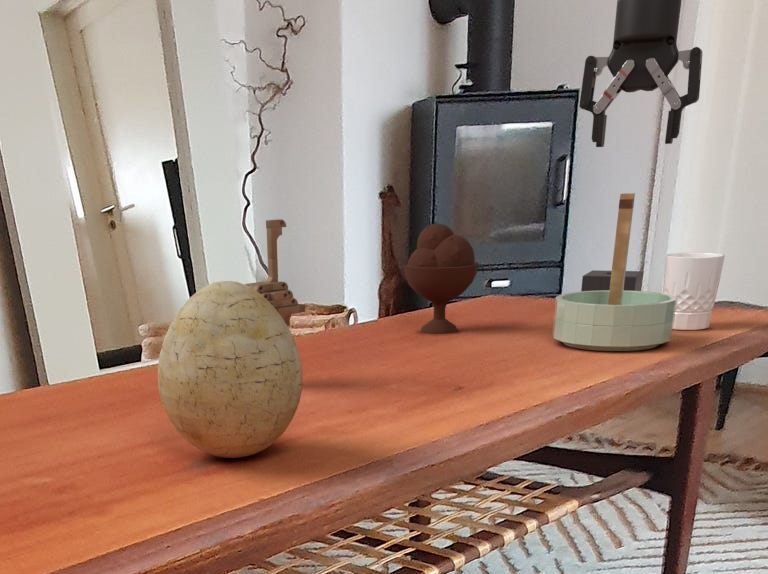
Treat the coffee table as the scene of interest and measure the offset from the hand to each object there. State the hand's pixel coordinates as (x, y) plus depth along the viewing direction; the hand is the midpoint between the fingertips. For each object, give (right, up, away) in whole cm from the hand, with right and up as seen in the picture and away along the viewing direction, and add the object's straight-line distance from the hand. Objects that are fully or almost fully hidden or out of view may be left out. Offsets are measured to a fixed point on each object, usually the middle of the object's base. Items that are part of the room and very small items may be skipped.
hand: (633, 145), depth 125 cm
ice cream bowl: (-22, -17, +22) cm, 35 cm away
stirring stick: (0, -22, +8) cm, 24 cm away
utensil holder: (+8, -10, +34) cm, 36 cm away
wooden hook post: (-51, -35, -13) cm, 63 cm away
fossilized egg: (-50, -47, -37) cm, 78 cm away
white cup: (+14, -18, +19) cm, 29 cm away
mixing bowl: (0, -23, +8) cm, 25 cm away
